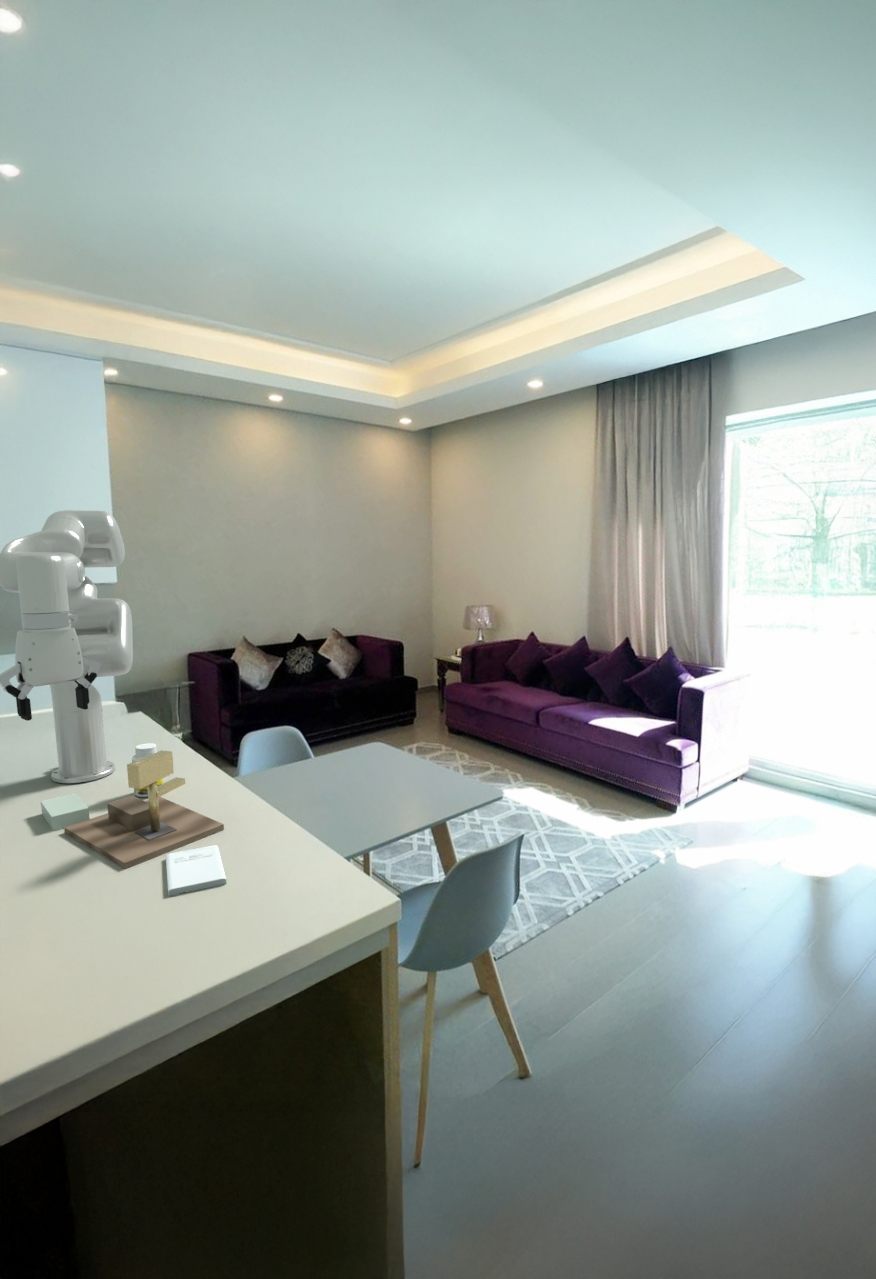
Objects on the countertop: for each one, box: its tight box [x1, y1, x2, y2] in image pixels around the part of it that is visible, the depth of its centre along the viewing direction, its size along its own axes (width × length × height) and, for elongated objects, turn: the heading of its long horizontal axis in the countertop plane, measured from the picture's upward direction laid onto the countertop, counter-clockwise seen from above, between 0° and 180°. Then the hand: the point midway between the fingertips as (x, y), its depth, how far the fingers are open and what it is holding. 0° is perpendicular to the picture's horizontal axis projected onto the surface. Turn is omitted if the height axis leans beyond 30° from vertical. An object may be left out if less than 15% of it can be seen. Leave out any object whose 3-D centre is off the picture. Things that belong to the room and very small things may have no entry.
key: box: [126, 749, 186, 830], centre depth 114 cm, size 11×2×13 cm, turn 161°
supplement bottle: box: [131, 742, 164, 798], centre depth 133 cm, size 6×6×10 cm
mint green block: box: [40, 793, 90, 831], centre depth 122 cm, size 10×6×3 cm, turn 41°
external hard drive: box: [165, 844, 227, 897], centre depth 101 cm, size 2×8×12 cm
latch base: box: [63, 795, 225, 870], centre depth 115 cm, size 22×18×4 cm
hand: (55, 713), depth 119 cm, fingers open, 9 cm apart
